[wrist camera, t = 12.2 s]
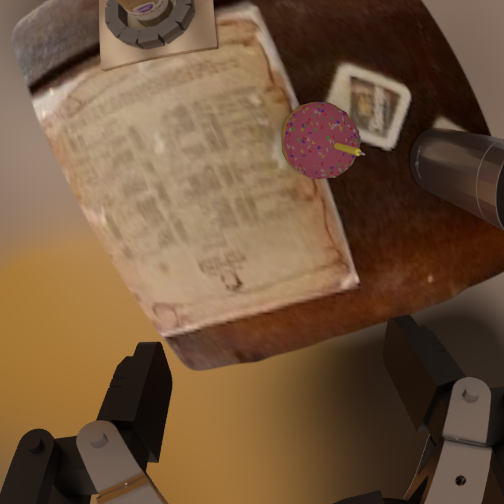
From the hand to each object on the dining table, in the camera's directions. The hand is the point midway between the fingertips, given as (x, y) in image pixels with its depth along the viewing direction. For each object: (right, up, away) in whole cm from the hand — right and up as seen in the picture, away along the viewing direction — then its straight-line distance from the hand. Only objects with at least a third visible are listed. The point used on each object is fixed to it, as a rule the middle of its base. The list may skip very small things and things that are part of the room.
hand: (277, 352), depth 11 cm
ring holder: (-12, +32, +19) cm, 39 cm away
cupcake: (+6, +17, +26) cm, 32 cm away
